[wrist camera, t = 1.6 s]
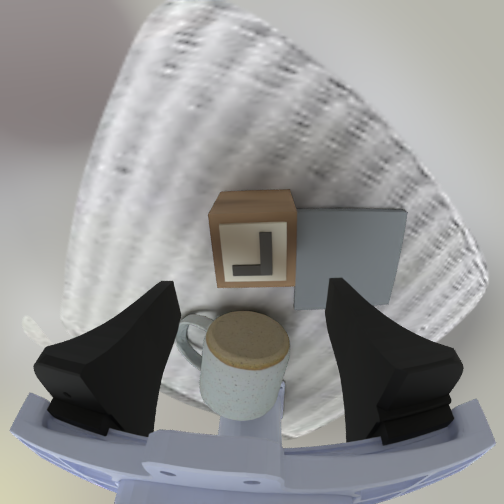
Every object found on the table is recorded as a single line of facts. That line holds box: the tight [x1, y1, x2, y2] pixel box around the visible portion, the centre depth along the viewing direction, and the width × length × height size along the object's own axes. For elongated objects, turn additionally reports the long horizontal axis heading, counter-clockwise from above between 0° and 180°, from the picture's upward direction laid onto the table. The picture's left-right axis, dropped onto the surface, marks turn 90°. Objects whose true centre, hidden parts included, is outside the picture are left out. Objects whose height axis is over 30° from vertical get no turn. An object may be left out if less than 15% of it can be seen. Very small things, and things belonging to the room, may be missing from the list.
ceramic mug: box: [175, 311, 290, 421], centre depth 23 cm, size 11×8×8 cm
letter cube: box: [208, 189, 297, 288], centre depth 19 cm, size 5×5×5 cm
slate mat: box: [294, 209, 408, 310], centre depth 22 cm, size 9×9×1 cm
